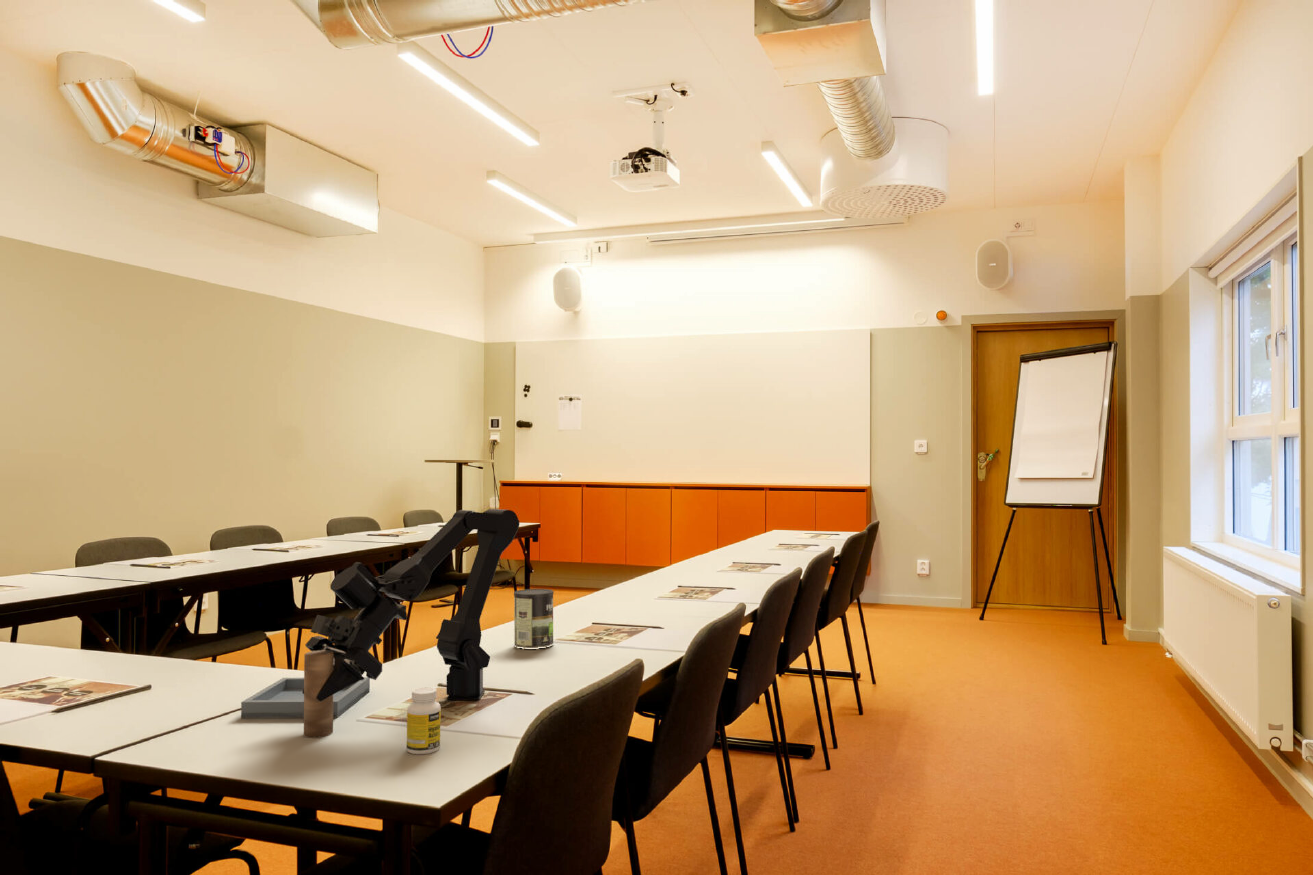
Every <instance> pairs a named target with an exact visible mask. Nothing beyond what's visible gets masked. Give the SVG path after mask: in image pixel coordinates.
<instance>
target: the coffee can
mask: <svg viewBox="0 0 1313 875" xmlns="http://www.w3.org/2000/svg"><path fill="white" fill-rule="evenodd" d="M554 594H555V593H554V590H552V589H548V588H547V589H546V588H526V589H525V588H524V589H519V590H518V589H517V590H515V591H513V597H514V600H513V602H514V605H513V606H514V609H513V610H514V611H513V612H514V614H513V615H514V618H513V619H514V629H513V630H514V635H513V636H514V645H515V646H516V647H523V648H538V647H547V646H550V645H552V644H554ZM514 645H513V646H514Z"/></svg>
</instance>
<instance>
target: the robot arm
mask: <svg viewBox="0 0 1313 875" xmlns="http://www.w3.org/2000/svg"><path fill="white" fill-rule="evenodd" d="M519 527H520V520H519V518H518V515H517V513H516V512H515V511H513V510H511V509H497V508H490V509H489V508H488V509H487V510H485V511H483V512H478V511H477V512H476V511H475V510H467V509H466V510H465V509H460V510H457V511H456V512H454V513H453V515H452V516H451V518H450V519H449V520H448V521H447V522H446V523H445V524H444V525H443V526H442V527H441V528H440V529H439V530H438V531H437V532H436V533H435V534H434V535H433V536H432V537H431V538H430V539H429V540H428V541H427V542H426V543H425V544H424V545H422V547H420V549H418V551H417V552H415V554H413V555H412V556H410V557H408V558H405V559H404V560H403V559H402V560H401V561H399V562H398V563H396V564H395V565H393V566H392V567H391V568H389V569H388V570H386V571H385V572H384V574H383V575H379V576H376V577H375V576H374V575H373V574H372V573H371V572H369V570H368V568H367V567H366V566H365V565H364V564H363V563H362V562H356V561H355V562H354V563H353V564H352V566H349V567H347V568H345V569H344V570H342V571H341V572H340V573H337V574H336V576H335V577H334V578H333V580H332V581H331V583H330V590H331V591H333V593H335V595H336V596H338V597H339V598H340V599H341V600H342V601H343V602H344V603H345V604H346V605H347V606H348V607H349V608H350V609H351V610H358V609H361V610H360V611H359V612H358V614H357V615H356V616H355V617H354V618H350V617H346V616H343V615H338V616H337V617H336V618H331V617H328V616H325V615H319V614H317V615H316V618H315V619H314V623H313V624H312V627H311V629H310V631H309V632H310V633H313V634H318V635H316V636H311V638H309V640H308V641H307V642H306V643H305V647H306V648H307V649H308V650H309V652H312V651H320V650H329V651H333V652H334V662H333V672H332V673H331V675H330V676H329V678H328V679H327V681H326V682H325V684H324V685H323V687H322V688H321V690H320V691H319V693H318V695H317V696H316V699H317V700H319V701H323V700H324V699H326V698H328V697H330V696H331V695H333V694H335V693H337V692H339V691H340V690H342V689H344V688H346V687H348V686H350V685H352V684H354V683H356V682H358V681H360V680H364V676H363V675H364V674H365V677H368V678H370V680H374V681H376V680H377V679H378V678H379V676H380V675H381V674H382V672H383V663H382V662H381V661H380V660H378V658H377V657H375V656H374V655H373V654H372V653H371V652H370V650H371V648H372V647H373V646H374V645H378V646H379V645H380V644H381V643H382V642H383V639H382V638H381V636H382V634H384V632H385V631H386V629H387V628H388V627H389V625H390V624H391V623H392V621H393V620H394V619H398V620H402V621H407V619H408V613H407V605H404V604H401V603H400V604H398V603H397V602H396V601H395V600H394V599H398V600H404V601H413V600H415V599H417V598H418V597H419V596H420V595H421V594H422V592H423V591H424V590H425V588H426V586H427V585H428V584H429V583H430V579H431V576H432V573H433V571H434V570H435V569H436V568H437V567H438V566H439V565H440V564H441V562H443V561H444V559H446V557H448V555H449V554H451V552H453V550H454V549H455V548H456V547H457V546H459V545H460V543H461V542H463V540H464V539H465V538H466V537H467V536H468V535H469V534H470V533H471V532H473V531H475V530H477V531H476V537H477V543H478V548H477V551H476V555H475V557H474V560H473V564H472V567H471V568H470V572H469V575H468V578H467V581H466V583H465V586H464V590H463V592H462V595H461V598H460V601H459V605H458V607H457V609H456V610H457V611H456V612H455V614H454V615H452V617H451V618H450V619H446V618H443V620H442V622H441V625H440V629H439V632H438V634H437V636H436V637H435V639H436V640H437V643H436V649H437V650H438V653H439V655H440V656H441V657H442V659H443V662H444V665H447V666H449V669H448V671H449V672H448V673H447V674H446V695H447V697H446V700H447V701H477V700H480V699H481V698H482V696H483V695H484V694H485V692H486V690H485V688H484V668H488V667H489V663H490V660H491V656H490V655H489V654H488V653H487V652H486V651H485V650H484V648H482V647H481V646H480V645H481V640H482V629H481V622H480V621H481V617H482V613H483V611H484V608H485V604H486V601H487V598H488V595H489V592H490V589H491V586H492V583H493V579H494V577H495V574H496V570H497V567H498V565H499V561H500V559H501V557H502V556H501V555H502V554H503V553H504V551H505V550H506V549H507V548H508V547H509V546H510V545H511V544H512V543H513V541H514V539H515V536H516V535H517V532H518V530H519ZM381 592H383V593H384V594H385V595H386V596H384V595H383V594H382V593H381ZM393 598H394V599H393ZM323 636H324V637H323ZM302 693H303V694H304V689H303V691H302ZM483 693H484V694H483Z"/></svg>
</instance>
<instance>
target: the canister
mask: <svg viewBox="0 0 1313 875" xmlns="http://www.w3.org/2000/svg"><path fill="white" fill-rule="evenodd" d="M303 658H304V660H303V663H304V664H303V666H304V668H303V678H304V718H303V736H304V737H306V738H314V739H315V738H321V737H326V736H330V735H332V734H333V732H334V718H333V695H331V696H330V697H328V698H326V699H324V700H323V701H319V700H317V699H316V696H317V695H318V693H319V691H320V690H321V688H322V687H323V685H324V684H325V682H326V681H327V679H328V678H329V676H330V675H331V673H332V672H333V662H334V652H333V651H329V650H320V651H312V652H311V651H308V652H305V653H304V657H303Z"/></svg>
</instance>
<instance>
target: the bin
mask: <svg viewBox="0 0 1313 875" xmlns="http://www.w3.org/2000/svg"><path fill="white" fill-rule="evenodd" d="M363 677H364V676H363ZM370 680H371V679H370V678H368V677H367V676H365V677H364V680H360V681H358V682H356V683H354V684H352V685H350V686H348V687H346V688H344V689H342V690H340V691H339V692H337V693H335V694H333V719H337V718H339V717H341V716H342V715H343V714H344V713H346V712H347V711H348V710H349V709H351V708H352V706H354V705H356V703H357V702H359V701H360V700H361V699H363V698H364V697H365V696H366V695H368V694H369V693H370V691H371V690H370V688H371V687H370V686H371V685H370V684H371V681H370ZM303 689H304V677H282V678H280V679H279V680H277V681H275V682H274V683H271V684H270V685H269V686H267V687H265V688H263V689H261V690H260V691H258V692H256V693H255V694H253V695H251V696H250V697H247V698H246V699H244V700H243V701H241V702H240V704H241V705H240V706H241V707H240V708H241V710H240V719H304V694H303V693H302V691H303Z"/></svg>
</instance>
